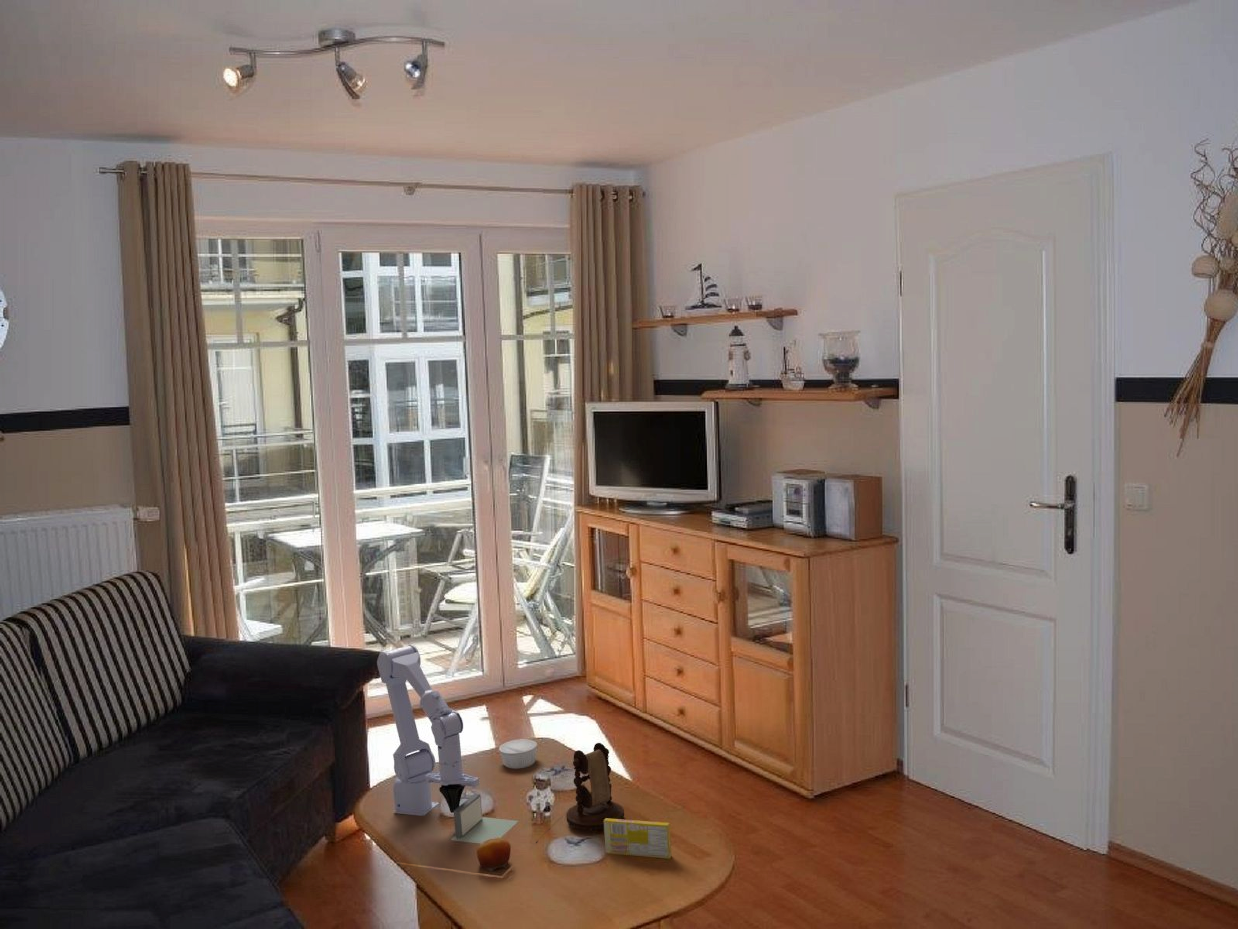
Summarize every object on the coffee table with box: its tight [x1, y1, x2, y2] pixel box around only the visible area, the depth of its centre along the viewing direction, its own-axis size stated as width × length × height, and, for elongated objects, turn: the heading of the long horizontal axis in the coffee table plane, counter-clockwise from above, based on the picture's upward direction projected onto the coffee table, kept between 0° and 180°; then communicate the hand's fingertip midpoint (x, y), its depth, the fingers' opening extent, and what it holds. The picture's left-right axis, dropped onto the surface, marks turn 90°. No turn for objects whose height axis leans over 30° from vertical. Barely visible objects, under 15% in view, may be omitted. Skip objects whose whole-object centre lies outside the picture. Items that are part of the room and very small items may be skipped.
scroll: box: [565, 742, 625, 835], centre depth 288 cm, size 15×15×20 cm
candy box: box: [603, 818, 673, 860], centre depth 270 cm, size 16×2×8 cm, turn 71°
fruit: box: [476, 837, 511, 873], centre depth 268 cm, size 8×8×8 cm
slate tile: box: [453, 793, 483, 838], centre depth 289 cm, size 2×11×7 cm, turn 158°
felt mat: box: [450, 816, 519, 845], centre depth 288 cm, size 12×14×1 cm
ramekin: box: [498, 738, 538, 770], centre depth 333 cm, size 11×11×5 cm
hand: (454, 811), depth 291 cm, fingers closed
